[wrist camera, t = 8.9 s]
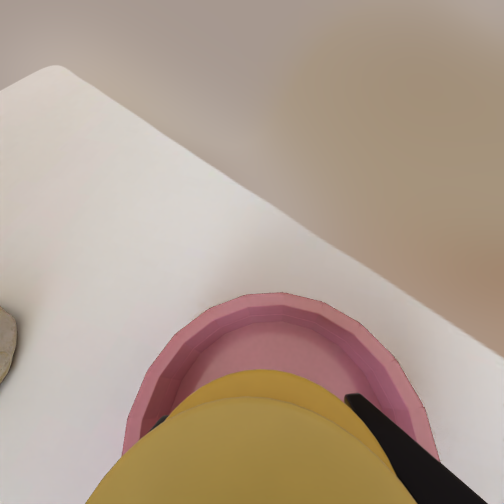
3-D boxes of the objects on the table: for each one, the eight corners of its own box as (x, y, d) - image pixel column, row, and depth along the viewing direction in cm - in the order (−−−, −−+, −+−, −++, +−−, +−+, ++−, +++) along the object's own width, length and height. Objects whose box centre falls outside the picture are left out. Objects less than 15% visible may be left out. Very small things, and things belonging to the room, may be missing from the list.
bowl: (254, 704, 12) (242, 852, 8) (118, 406, 18) (74, 409, 14) (456, 458, 16) (517, 479, 12) (285, 275, 22) (286, 248, 18)
